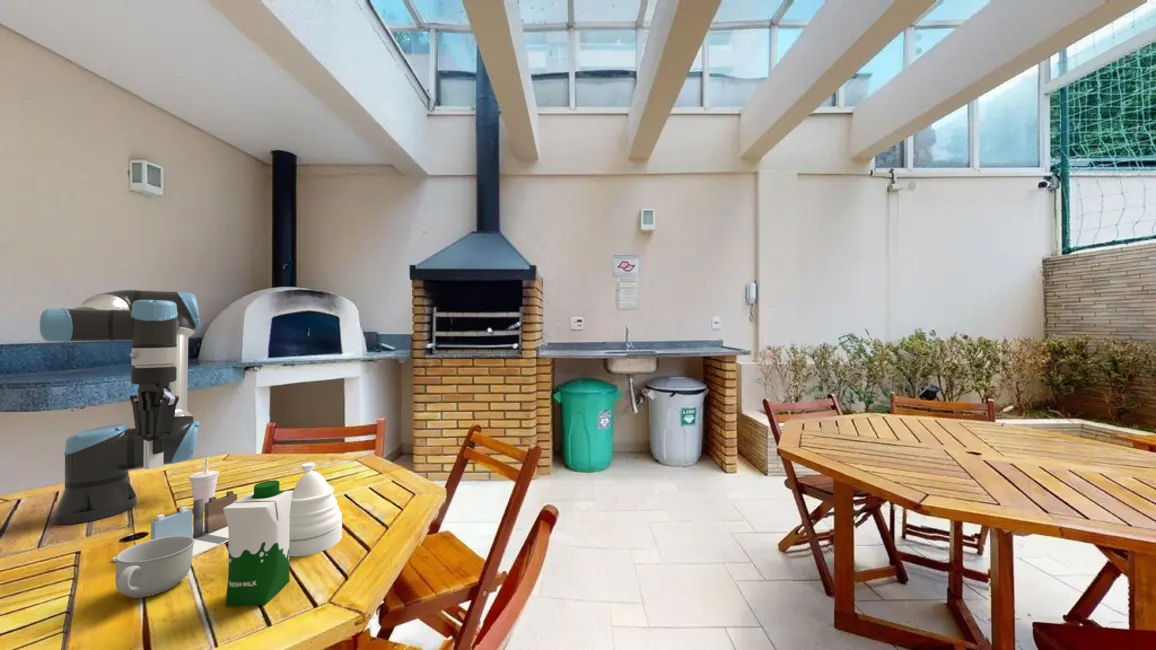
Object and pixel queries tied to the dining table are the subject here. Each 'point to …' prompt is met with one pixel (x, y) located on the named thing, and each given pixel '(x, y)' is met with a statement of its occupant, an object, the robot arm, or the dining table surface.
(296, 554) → the honey pot
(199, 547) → the card
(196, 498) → the smoothie
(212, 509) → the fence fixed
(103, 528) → the dining table surface
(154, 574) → the teacup
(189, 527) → the fence panel
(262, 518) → the milk carton
